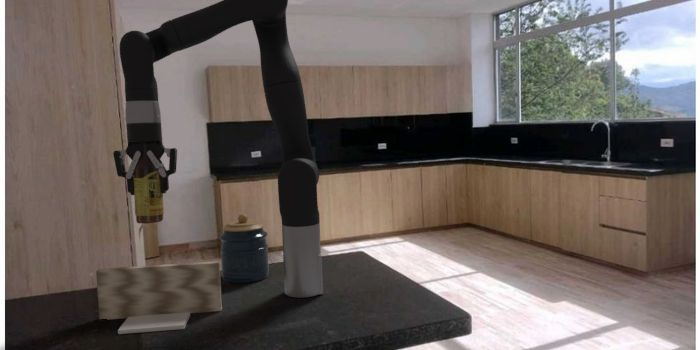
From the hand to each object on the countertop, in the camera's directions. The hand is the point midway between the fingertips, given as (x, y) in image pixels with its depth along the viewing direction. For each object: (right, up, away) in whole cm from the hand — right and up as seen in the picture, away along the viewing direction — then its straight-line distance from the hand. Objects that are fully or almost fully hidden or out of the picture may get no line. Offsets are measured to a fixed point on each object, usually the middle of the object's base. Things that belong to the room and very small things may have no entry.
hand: (148, 193), depth 125 cm
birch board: (+5, -27, -5) cm, 28 cm away
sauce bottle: (0, -7, +1) cm, 7 cm away
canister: (+18, -24, +24) cm, 38 cm away
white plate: (+6, -27, -11) cm, 30 cm away
